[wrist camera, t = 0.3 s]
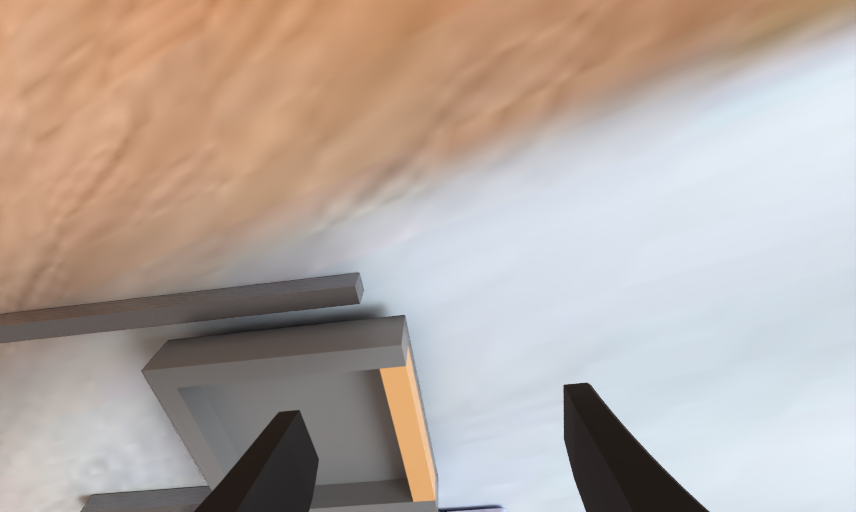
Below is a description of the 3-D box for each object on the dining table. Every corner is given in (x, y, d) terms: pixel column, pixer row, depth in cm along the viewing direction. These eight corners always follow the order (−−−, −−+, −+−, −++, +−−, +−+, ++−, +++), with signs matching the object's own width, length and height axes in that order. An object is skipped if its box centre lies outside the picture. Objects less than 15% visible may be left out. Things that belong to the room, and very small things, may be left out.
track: (411, 481, 28) (410, 499, 27) (99, 503, 30) (87, 521, 29) (359, 272, 21) (355, 285, 20) (-48, 319, 23) (-72, 334, 21)
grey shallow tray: (438, 460, 27) (438, 513, 24) (255, 474, 28) (233, 526, 25) (406, 301, 21) (401, 344, 18) (180, 325, 22) (141, 370, 19)
